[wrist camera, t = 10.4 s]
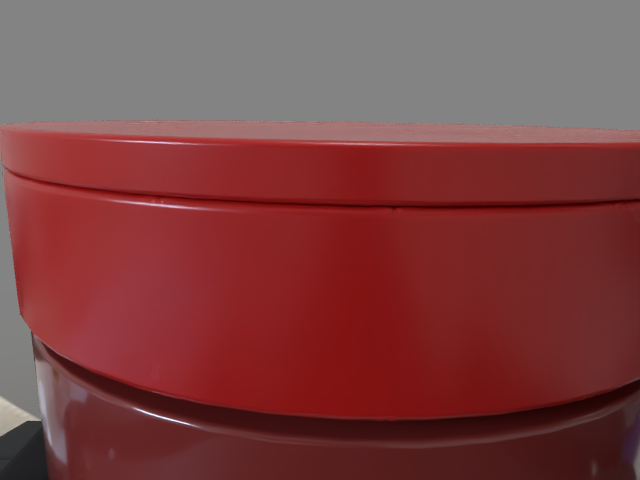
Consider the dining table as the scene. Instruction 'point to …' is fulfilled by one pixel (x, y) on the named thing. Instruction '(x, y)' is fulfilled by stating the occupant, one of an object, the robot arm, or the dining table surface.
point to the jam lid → (332, 261)
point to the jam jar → (319, 438)
